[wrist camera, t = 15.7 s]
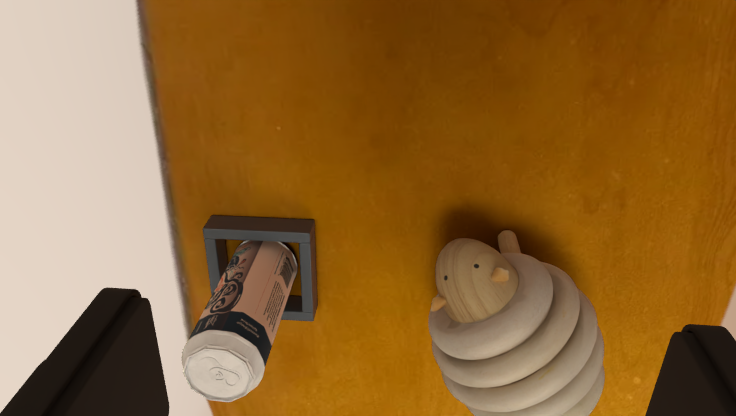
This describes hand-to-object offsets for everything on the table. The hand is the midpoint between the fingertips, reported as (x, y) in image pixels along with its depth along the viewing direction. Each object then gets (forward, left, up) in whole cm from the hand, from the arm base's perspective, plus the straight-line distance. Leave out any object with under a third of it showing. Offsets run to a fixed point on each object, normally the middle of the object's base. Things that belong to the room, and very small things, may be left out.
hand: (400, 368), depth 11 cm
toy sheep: (+17, -9, -29) cm, 34 cm away
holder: (+3, -19, -29) cm, 34 cm away
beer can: (+3, -19, -29) cm, 34 cm away
